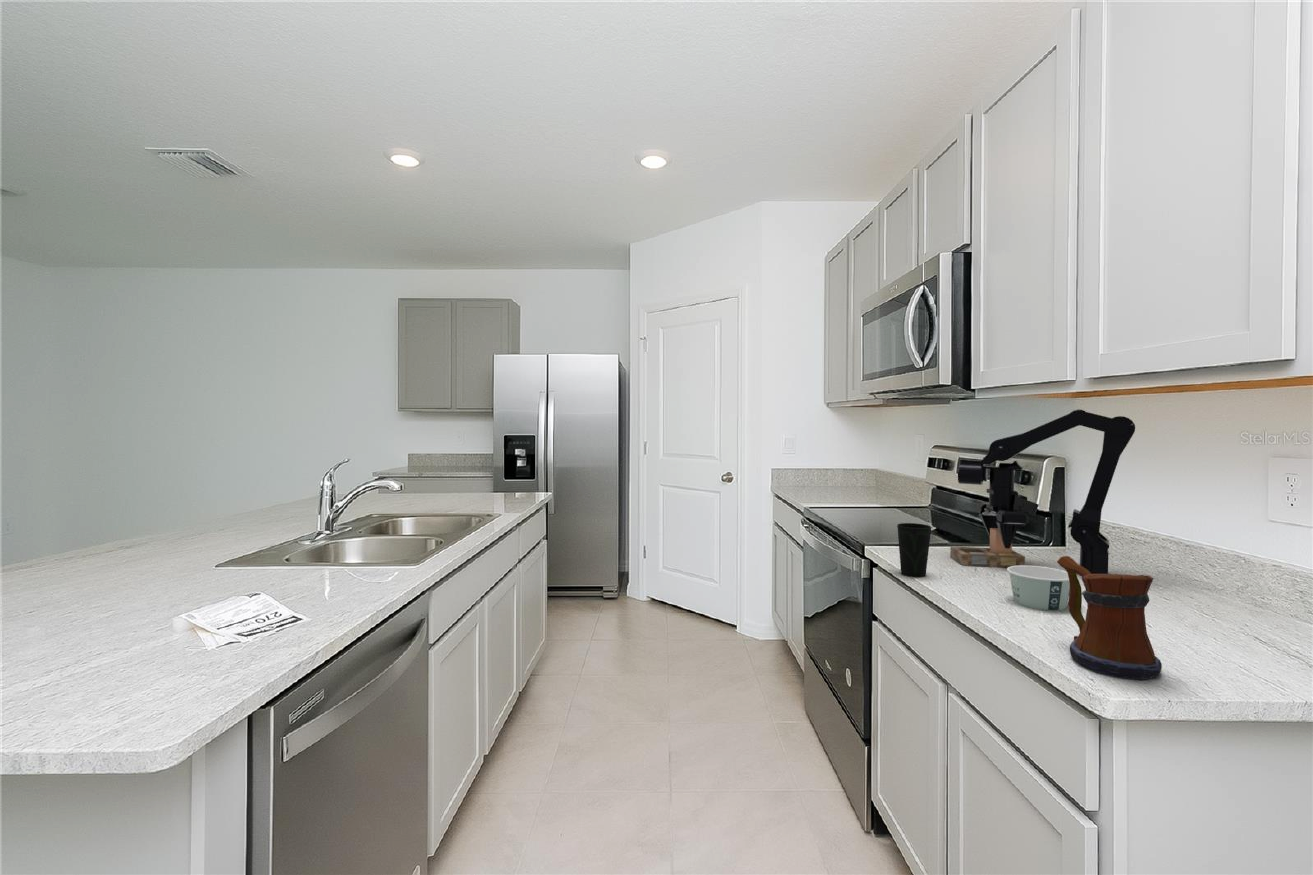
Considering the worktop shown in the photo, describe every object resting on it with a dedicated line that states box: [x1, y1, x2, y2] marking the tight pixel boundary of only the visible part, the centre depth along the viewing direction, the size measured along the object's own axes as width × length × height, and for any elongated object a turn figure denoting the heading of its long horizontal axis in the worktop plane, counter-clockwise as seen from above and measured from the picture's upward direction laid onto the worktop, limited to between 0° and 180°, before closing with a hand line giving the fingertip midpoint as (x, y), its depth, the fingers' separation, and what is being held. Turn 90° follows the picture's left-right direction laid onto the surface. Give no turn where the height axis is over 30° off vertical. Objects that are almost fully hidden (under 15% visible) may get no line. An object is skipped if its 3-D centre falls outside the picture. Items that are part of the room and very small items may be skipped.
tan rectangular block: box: [989, 528, 1013, 554], centre depth 161 cm, size 4×4×9 cm
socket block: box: [949, 545, 1026, 569], centre depth 162 cm, size 10×15×3 cm
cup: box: [896, 522, 932, 578], centre depth 149 cm, size 8×8×12 cm
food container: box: [1006, 564, 1070, 611], centre depth 126 cm, size 12×12×6 cm
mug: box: [1056, 555, 1163, 681], centre depth 97 cm, size 18×12×15 cm, turn 0°
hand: (1000, 544), depth 161 cm, fingers open, 9 cm apart
